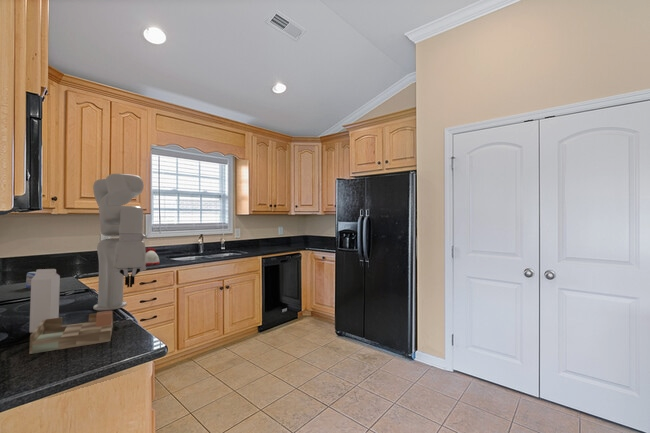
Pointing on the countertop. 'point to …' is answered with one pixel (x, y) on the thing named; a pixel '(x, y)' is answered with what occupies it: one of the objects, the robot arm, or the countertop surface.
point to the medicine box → (29, 279)
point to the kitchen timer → (151, 257)
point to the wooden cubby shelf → (68, 334)
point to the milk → (44, 297)
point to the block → (104, 318)
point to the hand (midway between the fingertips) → (129, 286)
